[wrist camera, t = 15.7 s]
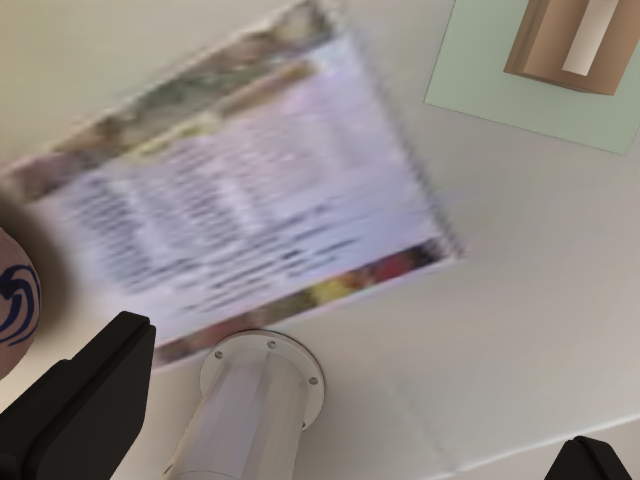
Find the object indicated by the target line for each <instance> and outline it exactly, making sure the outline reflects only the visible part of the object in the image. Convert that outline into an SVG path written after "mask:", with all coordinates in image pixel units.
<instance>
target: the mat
mask: <svg viewBox="0 0 640 480" xmlns="http://www.w3.org/2000/svg"><path fill="white" fill-rule="evenodd" d="M528 2H529V0H455V3H454V7H453V10H452V13H451V16H450V19H449V23H448V26H447V29H446V32H445V35H444V39H443V42H442V45H441V48H440V51H439V55H438V58H437V61H436V64H435V67H434V71H433V74H432V77H431V80H430V83H429V86H428V90H427V93H426V96H425V99H424V103H427V104H431V105H435V106H439V107H442V108H446V109H450V110H454V111H458V112H462V113H465V114H469V115H473V116H477V117H481V118H484V119H488V120H492V121H496V122H500V123H503V124H507V125H511V126H515V127H519V128H522V129H526V130H530V131H534V132H538V133H541V134H545V135H549V136H553V137H557V138H560V139H564V140H568V141H572V142H576V143H579V144H583V145H587V146H591V147H595V148H598V149H602V150H606V151H610V152H614V153H618V154H621V155H625V156H626V153H627V151H628V149H629V147H630V145H631V143H632V141H633V139H634V137H635V135H636V133H637V131H638V129H639V127H640V39H639V41H638V43H637V45H636V47H635V50H634V52H633V54H632V56H631V58H630V61H629V63H628V65H627V67H626V69H625V72H624V74H623V76H622V78H621V80H620V83H619V85H618V87H617V89H616V91H615V94H614V96H611V95H601V94H592V93H582V92H578V91H574V90H570V89H566V88H562V87H559V86H555V85H551V84H547V83H543V82H539V81H535V80H532V79H528V78H524V77H520V76H516V75H512V74H509V73H505V72H503V70H504V68H505V65H506V62H507V59H508V57H509V54H510V51H511V48H512V46H513V43H514V40H515V37H516V35H517V32H518V29H519V26H520V24H521V21H522V18H523V15H524V13H525V10H526V7H527V4H528Z"/></svg>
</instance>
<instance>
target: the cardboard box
mask: <svg viewBox="0 0 640 480" xmlns="http://www.w3.org/2000/svg"><path fill="white" fill-rule="evenodd" d="M639 39H640V0H529V2H528V4H527V7H526V10H525V13H524V15H523V18H522V21H521V24H520V26H519V29H518V32H517V35H516V37H515V40H514V43H513V46H512V48H511V51H510V54H509V57H508V59H507V62H506V65H505V68H504V70H503V72H505V73H509V74H512V75H516V76H520V77H524V78H528V79H532V80H535V81H539V82H543V83H547V84H551V85H555V86H559V87H562V88H566V89H570V90H574V91H578V92H582V93H592V94H601V95H611V96H614V94H615V91H616V89H617V87H618V85H619V83H620V80H621V78H622V76H623V74H624V72H625V69H626V67H627V65H628V63H629V61H630V58H631V56H632V54H633V52H634V50H635V47H636V45H637V43H638V41H639Z"/></svg>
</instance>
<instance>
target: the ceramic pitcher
mask: <svg viewBox="0 0 640 480" xmlns="http://www.w3.org/2000/svg"><path fill="white" fill-rule="evenodd" d="M41 296H42V295H41V288H40V281H39V277H38V274H37V272H36V271H35V269H34V267H33V265H32V263H31V261H30V259H29V257H28V256H27V254H26V252H25V251H24V250H23V249H22V247H21V246H20V245H19V244H18V243H17V242H16V241H15V240H14V239H13V238H12V237H10V236H9V235H8V234H7V233H6V232H5V231H4V230H3V229H2V227H0V380H2V379H3V378H4V377H5V376H7V375H8V374H9V373H10V372H11V371H12V370H13V368H14V367H15V366H16V365H17V364H18V363H19V361H20V360H21V359H22V358H23V357H24V355H25V354H26V352H27V351H28V349H29V347H30V345H31V344H32V342H33V340H34V337H35V334H36V332H37V328H38V322H39V318H40V311H41Z"/></svg>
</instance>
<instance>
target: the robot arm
mask: <svg viewBox="0 0 640 480" xmlns="http://www.w3.org/2000/svg"><path fill="white" fill-rule="evenodd" d="M155 336H156V327H155V326H153V325H150V320H149V318H148V317H146V316H142V315H138V314H135V313H131V312H127V311H122V312H120V313H119V314H118V315H117V316H116V317H115V318H114V319H113V320H112V321H111V322H110V323H109V324H108V325H107V326H106V327H104V328H103V329H102V330H101V331H100V332H99V333H98V334H97V335H96V336H95V337H94V338H93V339H92V340H91V341H90V342H89V343H88V344H87V345H86V346H85V347H84V348H82V349H81V350H80V351H79V352H78V353H77V354H76V355H75V356H74V357H73V358H72V359H71V360H67V359H63V360H60V361H58V362H57V363H56V364H54V365H53V366H52V367H51V368H50V369H49V370H48V371H47V372H45V373H44V374H43V375H42V376H41V377H40V378H39V379H38V380H37V381H36V382H35V383H34V384H32V385H31V386H30V387H29V388H28V389H27V390H26V391H25V392H24V393H23V394H22V395H20V396H19V397H18V398H17V399H16V400H15V401H14V402H13V403H12V404H11V405H10V406H8V407H7V408H6V409H5V410H4V411H3V412H2V413H1V414H0V480H110V478H111V477H112V475H113V474H114V472H115V470H116V469H117V467H118V466H119V464H120V463H121V461H122V460H123V458H124V457H125V455H126V453H127V452H128V450H129V449H130V447H131V446H132V444H133V443H134V441H135V440H136V438H137V436H138V435H139V433H140V431H141V428H142V426H143V422H144V418H145V411H146V403H147V396H148V389H149V381H150V374H151V366H152V359H153V351H154V344H155ZM199 381H200V390H201V394H202V400H201V402H200V404H199V406H198V408H197V410H196V412H195V413H194V415H193V417H192V419H191V421H190V423H189V425H188V427H187V429H186V431H185V433H184V434H183V436H182V438H181V440H180V442H179V444H178V446H177V448H176V450H175V452H174V454H173V456H172V457H171V459H170V461H169V463H168V465H167V467H166V469H165V471H164V473H163V475H162V477H161V479H160V480H292V475H293V470H294V465H295V460H296V455H297V450H298V445H299V440H300V435H301V432H302V431H304V430H305V429H306V428H308V427H309V426H310V425H311V424H312V423H313V422H314V421H315V419H316V418H317V417H318V415H319V413H320V410H321V408H322V405H323V400H324V390H325V385H324V379H323V375H322V373H321V370H320V367H319V366H318V364H317V362H316V361H315V359H314V358H313V357H312V356H311V354H310V353H309V352H308V351H307V350H306V349H305V348H303V347H302V346H301V345H299V344H298V343H297V342H295V341H293V340H291V339H290V338H288V337H286V336H283V335H280V334H277V333H274V332H269V331H262V330H251V331H244V332H239V333H235V334H233V335H230V336H228V337H226V338H224V339H223V340H221V341H220V342H218V343H217V344H216V345H215V346H214V347H213V348H212V349H211V351H210V352H209V354H208V355H207V357H206V359H205V361H204V363H203V365H202V367H201V372H200V377H199ZM544 480H632V478H631V477H630V475H629V474H628V472H627V470H626V469H625V467H624V466H623V464H622V463H621V461H620V459H619V458H618V456H617V455H616V453H615V452H614V450H613V448H612V447H611V446H610V445H609V444H608V443H606V442H603V441H599V440H595V439H592V438H588V437H584V436H577V437H575V438H574V439H573V440H568V441H566V442H565V444H564V445H563V447H562V449H561V450H560V452H559V454H558V456H557V458H556V459H555V461H554V463H553V465H552V466H551V468H550V470H549V472H548V473H547V475H546V477H545V479H544Z"/></svg>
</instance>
